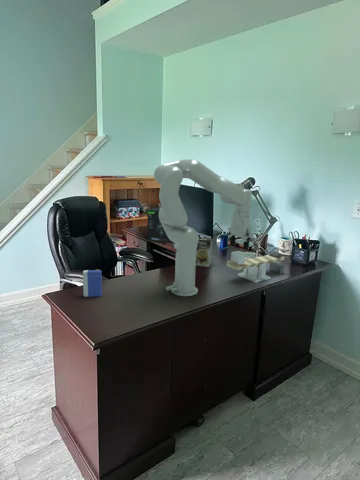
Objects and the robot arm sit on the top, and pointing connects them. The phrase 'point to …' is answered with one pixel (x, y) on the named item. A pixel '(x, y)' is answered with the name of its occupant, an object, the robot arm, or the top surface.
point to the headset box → (156, 227)
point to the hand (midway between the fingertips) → (238, 246)
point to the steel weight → (238, 257)
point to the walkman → (92, 283)
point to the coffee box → (203, 252)
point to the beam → (257, 261)
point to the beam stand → (261, 271)
